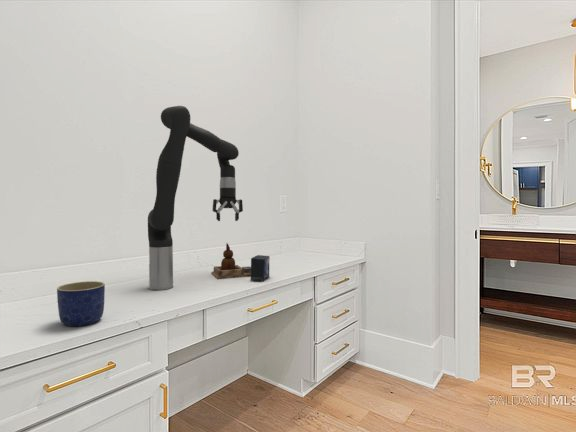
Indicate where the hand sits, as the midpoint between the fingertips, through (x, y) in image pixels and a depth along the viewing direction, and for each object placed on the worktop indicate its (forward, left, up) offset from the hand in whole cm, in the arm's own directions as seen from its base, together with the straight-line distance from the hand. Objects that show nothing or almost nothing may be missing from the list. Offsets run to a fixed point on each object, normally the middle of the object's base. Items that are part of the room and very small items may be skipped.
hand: (227, 220), depth 180 cm
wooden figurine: (0, 0, -26) cm, 26 cm away
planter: (-57, -52, -27) cm, 81 cm away
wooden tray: (+3, 0, -26) cm, 27 cm away
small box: (+12, -15, -27) cm, 33 cm away
